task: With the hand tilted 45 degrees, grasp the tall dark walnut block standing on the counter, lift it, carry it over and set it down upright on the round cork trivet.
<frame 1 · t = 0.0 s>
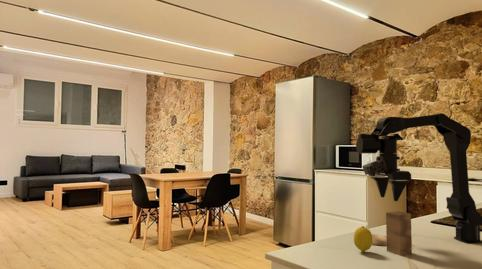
hand: (388, 199, 120), 15 cm above the counter, tool pointing down, fingers open, 9 cm apart
walnut block: (399, 252, 108), on the counter
lemon: (363, 252, 108), on the counter
cork trivet: (376, 241, 121), on the counter
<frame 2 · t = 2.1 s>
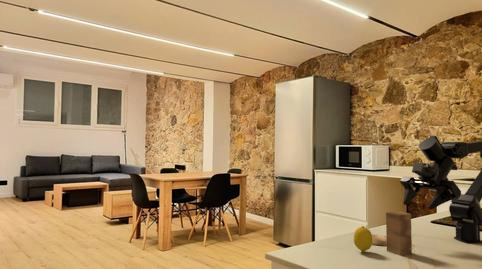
hand: (416, 206, 112), 13 cm above the counter, tool tilted 45°, fingers open, 9 cm apart
nothing on the counter moved.
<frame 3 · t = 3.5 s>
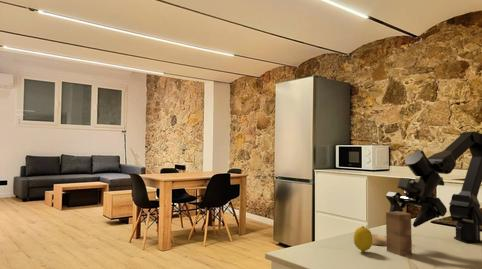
hand: (401, 223, 109), 9 cm above the counter, tool tilted 45°, fingers open, 9 cm apart
nothing on the counter moved.
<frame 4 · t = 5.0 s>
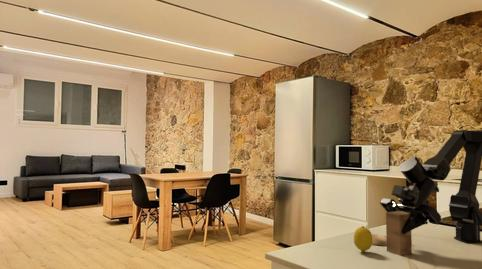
hand: (395, 231, 108), 7 cm above the counter, tool tilted 45°, fingers closed on walnut block, 5 cm apart
walnut block: (399, 252, 108), on the counter, touching gripper
everything else where it was.
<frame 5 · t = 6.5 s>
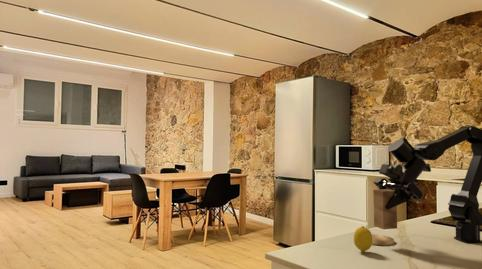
hand: (381, 207, 115), 13 cm above the counter, tool tilted 45°, fingers closed on walnut block, 5 cm apart
walnut block: (385, 227, 115), point 6 cm above the counter, touching gripper
everything else where it was.
when the fingers open (9 cm above the counter, at t = 8.4 s): walnut block stays where it is, resting on cork trivet.
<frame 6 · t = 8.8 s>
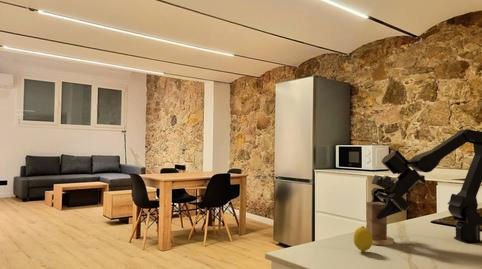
hand: (372, 215, 121), 9 cm above the counter, tool tilted 45°, fingers open, 9 cm apart
walnut block: (376, 238, 121), point 1 cm above the counter, touching cork trivet
everything else where it was.
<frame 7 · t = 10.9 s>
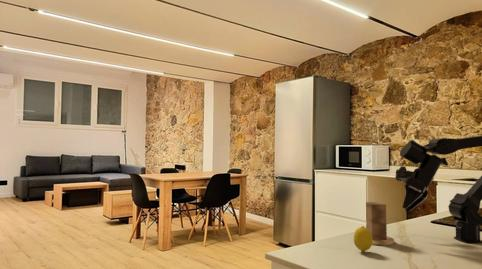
hand: (405, 209, 122), 11 cm above the counter, tool tilted 30°, fingers open, 9 cm apart
nothing on the counter moved.
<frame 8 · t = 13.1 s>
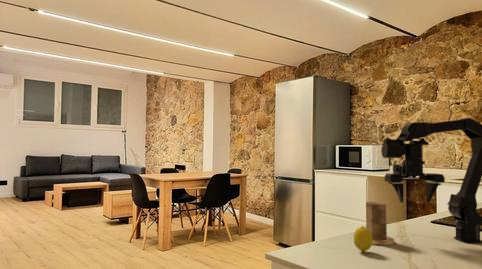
hand: (414, 202, 123), 13 cm above the counter, tool pointing down, fingers open, 9 cm apart
nothing on the counter moved.
at the end: walnut block 0.0 cm from the cork trivet (horizontally); walnut block point 1.0 cm above the counter; walnut block tilted 0° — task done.
